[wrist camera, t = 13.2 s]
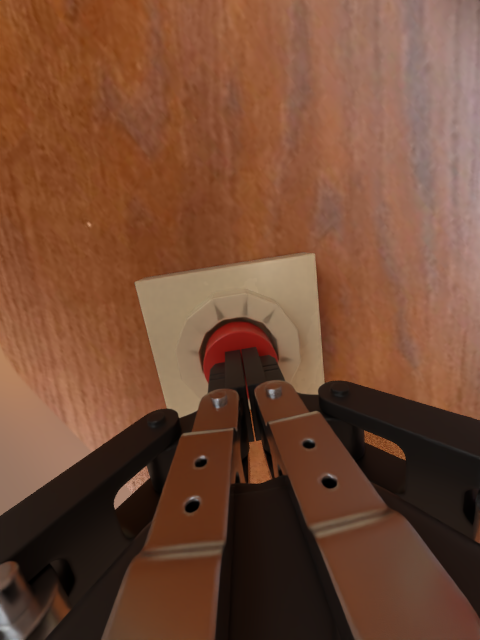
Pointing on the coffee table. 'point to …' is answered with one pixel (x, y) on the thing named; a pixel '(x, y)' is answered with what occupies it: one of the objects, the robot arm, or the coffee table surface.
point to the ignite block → (233, 306)
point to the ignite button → (235, 344)
